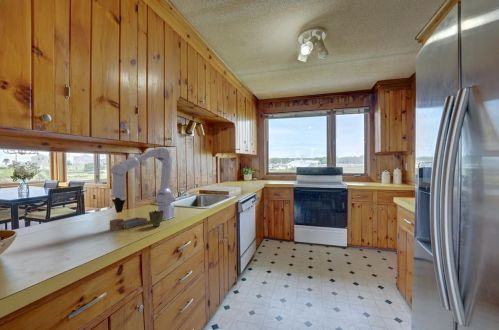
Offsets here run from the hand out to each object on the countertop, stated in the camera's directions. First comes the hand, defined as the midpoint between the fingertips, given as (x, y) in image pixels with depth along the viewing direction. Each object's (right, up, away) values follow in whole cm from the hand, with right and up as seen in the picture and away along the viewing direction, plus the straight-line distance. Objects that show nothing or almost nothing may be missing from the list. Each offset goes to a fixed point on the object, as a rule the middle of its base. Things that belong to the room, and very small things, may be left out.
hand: (119, 212), depth 116 cm
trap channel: (+3, -9, +7) cm, 11 cm away
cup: (+18, -9, +4) cm, 20 cm away
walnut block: (0, -9, -1) cm, 9 cm away
